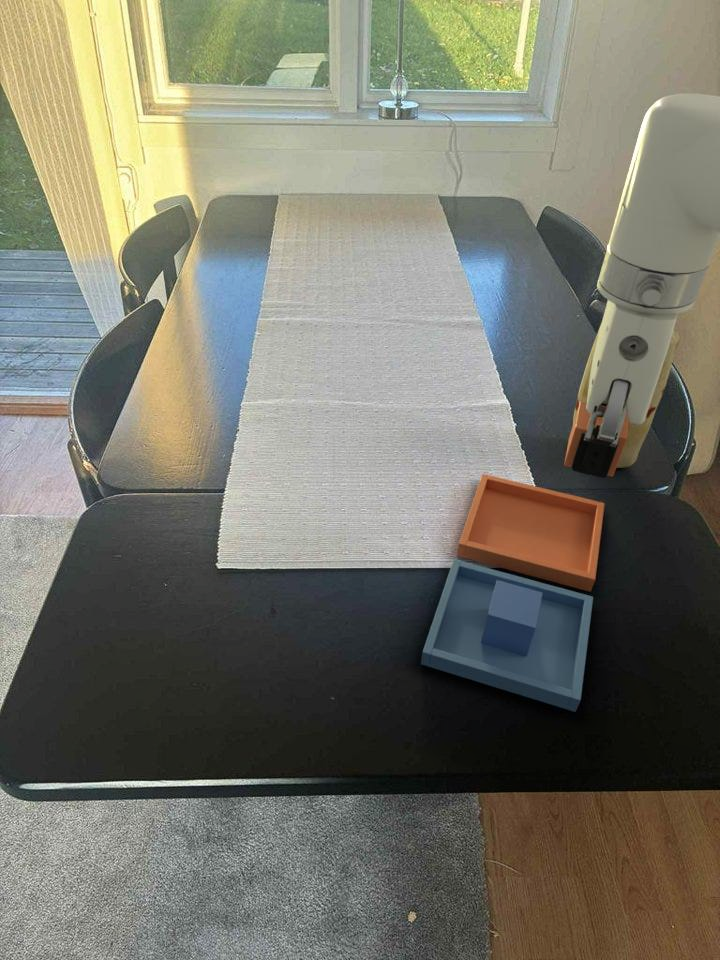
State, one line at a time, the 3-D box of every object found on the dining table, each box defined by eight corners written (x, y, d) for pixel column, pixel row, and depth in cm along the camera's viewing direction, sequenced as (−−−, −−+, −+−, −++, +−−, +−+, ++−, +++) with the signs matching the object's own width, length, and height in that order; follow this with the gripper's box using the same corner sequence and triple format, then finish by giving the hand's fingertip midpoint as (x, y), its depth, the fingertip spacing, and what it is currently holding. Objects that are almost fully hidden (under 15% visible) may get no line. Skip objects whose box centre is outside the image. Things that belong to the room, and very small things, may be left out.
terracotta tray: (600, 515, 83) (604, 502, 82) (590, 592, 74) (595, 579, 73) (480, 485, 87) (482, 473, 85) (456, 555, 78) (458, 543, 76)
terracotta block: (615, 448, 68) (629, 411, 65) (613, 477, 65) (627, 438, 62) (569, 438, 69) (580, 400, 66) (563, 465, 66) (575, 427, 63)
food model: (643, 460, 91) (697, 322, 78) (619, 484, 88) (671, 343, 75) (577, 428, 96) (617, 293, 83) (552, 449, 93) (589, 312, 79)
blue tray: (588, 609, 73) (593, 596, 71) (575, 712, 63) (580, 700, 62) (451, 571, 76) (453, 558, 75) (420, 664, 67) (422, 651, 66)
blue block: (533, 621, 70) (542, 592, 68) (526, 656, 67) (535, 628, 64) (489, 608, 72) (496, 579, 69) (480, 643, 68) (487, 614, 65)
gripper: (704, 335, 48) (627, 524, 60) (698, 243, 60) (634, 415, 72) (593, 314, 49) (539, 502, 62) (608, 229, 62) (561, 400, 74)
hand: (591, 454), depth 67 cm, fingers closed on terracotta block, 4 cm apart
